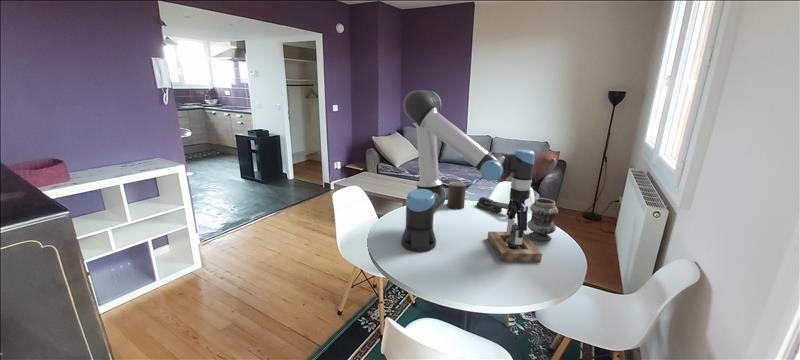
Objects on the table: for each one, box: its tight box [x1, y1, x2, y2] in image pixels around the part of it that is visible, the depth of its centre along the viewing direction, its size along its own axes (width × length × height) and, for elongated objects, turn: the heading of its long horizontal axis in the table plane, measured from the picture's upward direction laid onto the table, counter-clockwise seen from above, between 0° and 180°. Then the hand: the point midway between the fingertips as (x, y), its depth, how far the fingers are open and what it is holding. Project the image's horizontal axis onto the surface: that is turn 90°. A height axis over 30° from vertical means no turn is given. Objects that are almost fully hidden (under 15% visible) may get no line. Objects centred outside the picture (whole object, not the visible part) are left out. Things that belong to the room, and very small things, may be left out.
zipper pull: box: [476, 196, 509, 214], centre depth 183 cm, size 9×7×25 cm
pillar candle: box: [446, 181, 467, 211], centre depth 188 cm, size 10×10×15 cm
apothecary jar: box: [527, 197, 559, 243], centre depth 151 cm, size 12×12×18 cm
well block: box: [487, 231, 543, 263], centre depth 141 cm, size 16×20×4 cm
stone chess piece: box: [506, 222, 519, 249], centre depth 140 cm, size 6×6×12 cm
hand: (513, 238), depth 140 cm, fingers open, 9 cm apart
